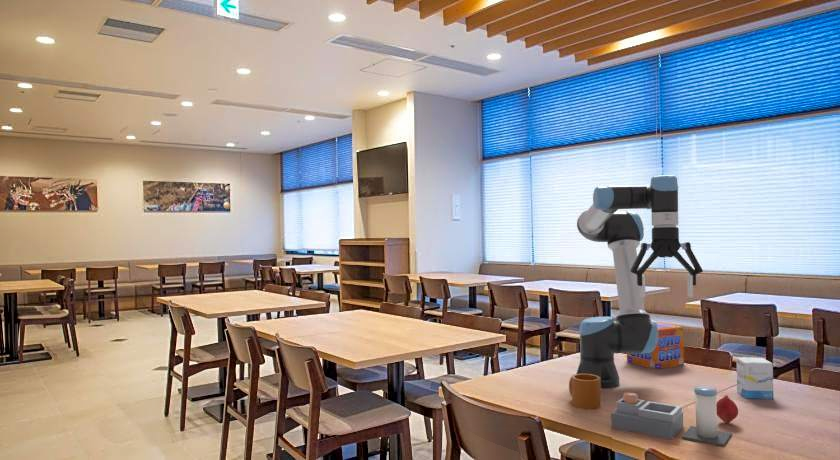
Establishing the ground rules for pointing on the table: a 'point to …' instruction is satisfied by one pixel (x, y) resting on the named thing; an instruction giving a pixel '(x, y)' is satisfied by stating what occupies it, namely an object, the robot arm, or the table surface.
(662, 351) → the game box
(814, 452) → the table surface
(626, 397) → the salmon orange cube
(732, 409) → the onion
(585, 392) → the mug
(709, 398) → the cylinder
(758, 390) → the ink box
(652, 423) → the box
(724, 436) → the pad
